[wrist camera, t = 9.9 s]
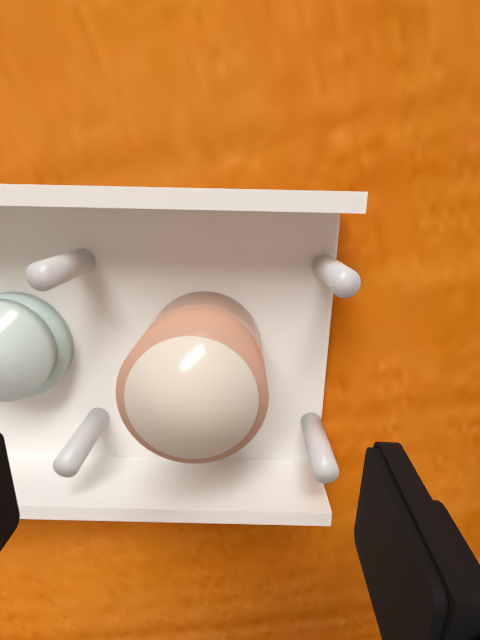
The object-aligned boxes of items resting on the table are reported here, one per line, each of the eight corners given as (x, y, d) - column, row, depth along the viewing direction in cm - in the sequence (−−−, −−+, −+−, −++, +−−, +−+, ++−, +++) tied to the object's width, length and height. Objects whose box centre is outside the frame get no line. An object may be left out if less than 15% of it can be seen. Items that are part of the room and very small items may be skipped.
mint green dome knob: (67, 292, 20) (48, 302, 18) (78, 389, 22) (62, 408, 20) (-40, 290, 20) (-70, 300, 18) (-21, 387, 22) (-47, 405, 20)
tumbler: (263, 293, 20) (273, 329, 14) (258, 397, 22) (265, 469, 16) (147, 289, 20) (109, 324, 14) (151, 394, 22) (117, 465, 16)
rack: (336, 194, 20) (371, 191, 14) (312, 460, 25) (332, 532, 19) (-74, 185, 20) (-191, 179, 14) (-19, 452, 25) (-92, 522, 19)
